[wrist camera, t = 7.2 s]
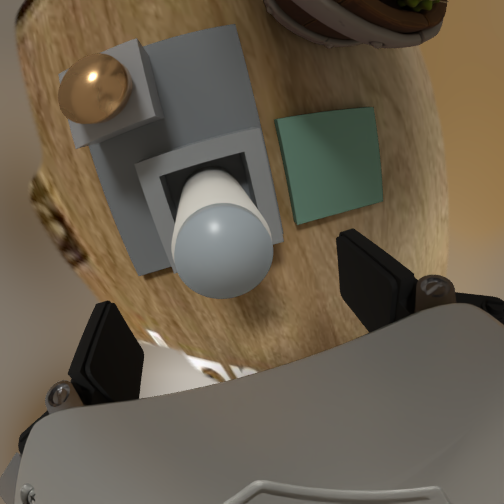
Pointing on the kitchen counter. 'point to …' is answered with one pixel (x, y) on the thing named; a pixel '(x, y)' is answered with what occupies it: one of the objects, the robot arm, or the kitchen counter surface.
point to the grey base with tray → (178, 137)
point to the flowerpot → (361, 21)
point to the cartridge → (219, 236)
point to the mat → (330, 161)
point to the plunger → (94, 89)
